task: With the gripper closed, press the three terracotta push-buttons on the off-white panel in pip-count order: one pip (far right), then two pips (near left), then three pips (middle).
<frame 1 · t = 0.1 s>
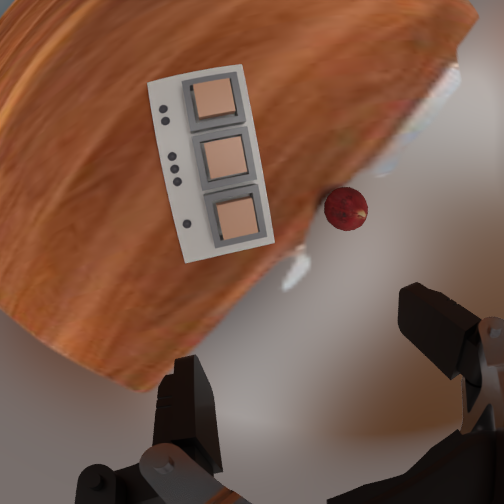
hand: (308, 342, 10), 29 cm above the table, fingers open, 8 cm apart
button three: (225, 157, 30), point 5 cm above the table, slide at 0.0 cm
button two: (213, 99, 28), point 5 cm above the table, slide at 0.0 cm
button panel: (210, 161, 34), on the table
onion: (333, 204, 39), on the table
button one: (236, 217, 32), point 5 cm above the table, slide at 0.0 cm
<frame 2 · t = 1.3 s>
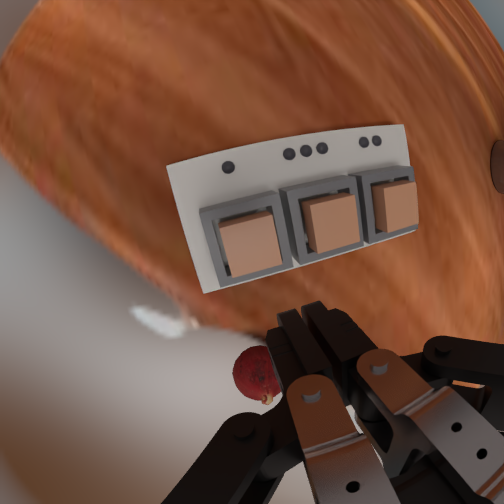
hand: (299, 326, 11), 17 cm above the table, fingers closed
button three: (331, 221, 23), point 5 cm above the table, slide at 0.0 cm
button two: (396, 204, 23), point 5 cm above the table, slide at 0.0 cm
button panel: (307, 196, 27), on the table
onion: (253, 351, 31), on the table
button one: (249, 243, 22), point 5 cm above the table, slide at 0.0 cm
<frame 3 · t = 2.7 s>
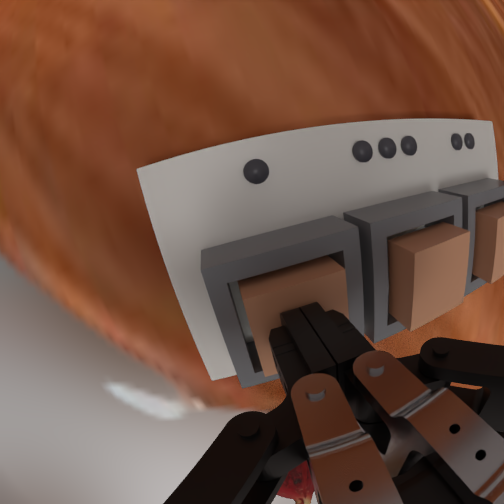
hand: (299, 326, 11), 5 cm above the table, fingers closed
button three: (430, 273, 12), point 5 cm above the table, slide at 0.0 cm
button two: (498, 239, 12), point 5 cm above the table, slide at 0.0 cm
button panel: (376, 222, 16), on the table
onion: (280, 428, 21), on the table
button one: (296, 315, 12), point 4 cm above the table, slide at 0.7 cm, touching gripper
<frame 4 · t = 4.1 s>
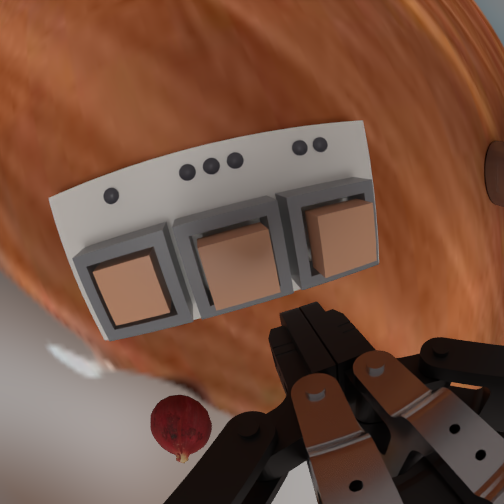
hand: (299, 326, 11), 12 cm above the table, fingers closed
button three: (238, 265, 17), point 5 cm above the table, slide at 0.0 cm
button two: (342, 236, 18), point 5 cm above the table, slide at 0.0 cm
button panel: (223, 224, 21), on the table
onion: (179, 396, 25), on the table
button one: (133, 286, 17), point 4 cm above the table, slide at 1.3 cm
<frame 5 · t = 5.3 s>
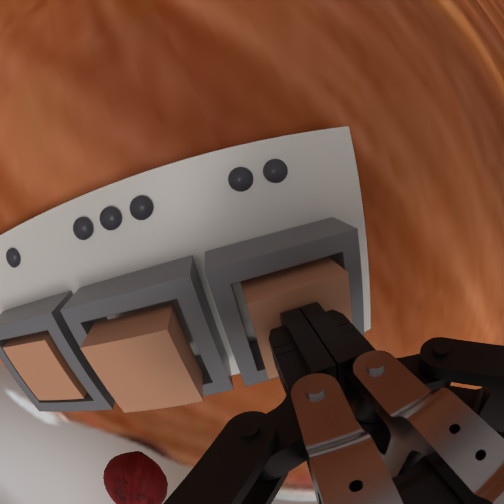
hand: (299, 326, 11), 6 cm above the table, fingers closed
button three: (145, 363, 11), point 5 cm above the table, slide at 0.0 cm
button two: (299, 318, 12), point 5 cm above the table, slide at 0.4 cm, touching gripper
button panel: (149, 286, 15), on the table
onion: (138, 450, 20), on the table
button one: (47, 363, 12), point 4 cm above the table, slide at 1.3 cm
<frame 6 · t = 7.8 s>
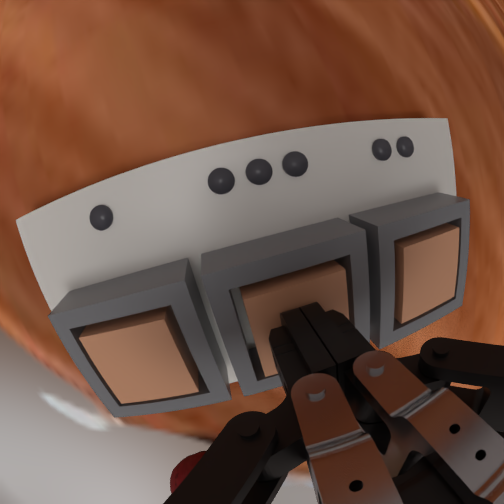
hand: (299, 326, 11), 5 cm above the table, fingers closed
button three: (296, 315, 12), point 4 cm above the table, slide at 1.2 cm, touching gripper
button two: (420, 268, 12), point 4 cm above the table, slide at 1.3 cm
button panel: (270, 255, 15), on the table
onion: (203, 450, 19), on the table
button one: (142, 353, 11), point 4 cm above the table, slide at 1.3 cm
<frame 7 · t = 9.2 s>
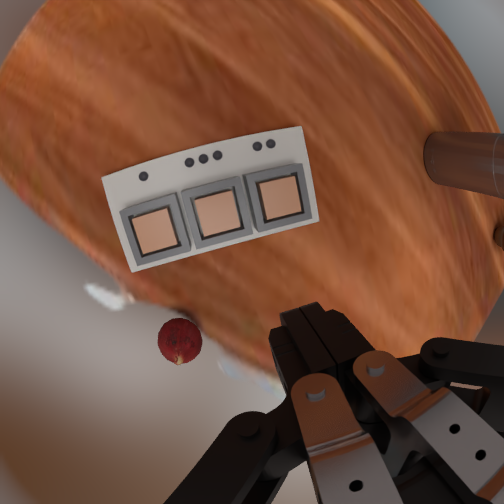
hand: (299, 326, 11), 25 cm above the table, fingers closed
button three: (217, 212, 30), point 4 cm above the table, slide at 1.3 cm
button two: (278, 196, 31), point 4 cm above the table, slide at 1.3 cm
button panel: (212, 195, 33), on the table
onion: (180, 324, 38), on the table
cat ice cream: (495, 233, 46), on the table
button one: (155, 229, 29), point 4 cm above the table, slide at 1.3 cm
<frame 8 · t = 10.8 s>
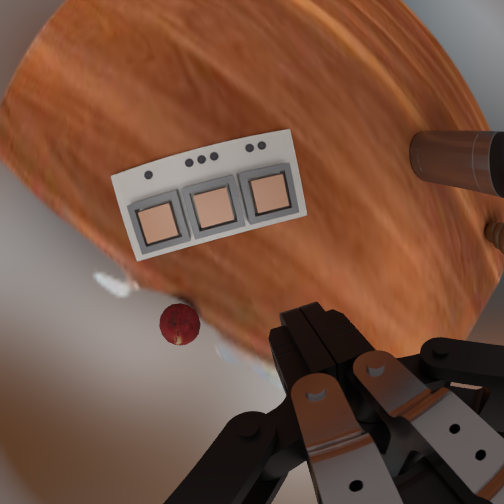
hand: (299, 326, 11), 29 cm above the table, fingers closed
button three: (213, 206, 34), point 4 cm above the table, slide at 1.3 cm
button two: (268, 192, 34), point 4 cm above the table, slide at 1.3 cm
button panel: (209, 192, 37), on the table
onion: (181, 310, 41), on the table
cat ice cream: (486, 229, 49), on the table
button one: (159, 222, 33), point 4 cm above the table, slide at 1.3 cm
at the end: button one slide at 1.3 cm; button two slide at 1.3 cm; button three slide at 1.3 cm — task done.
